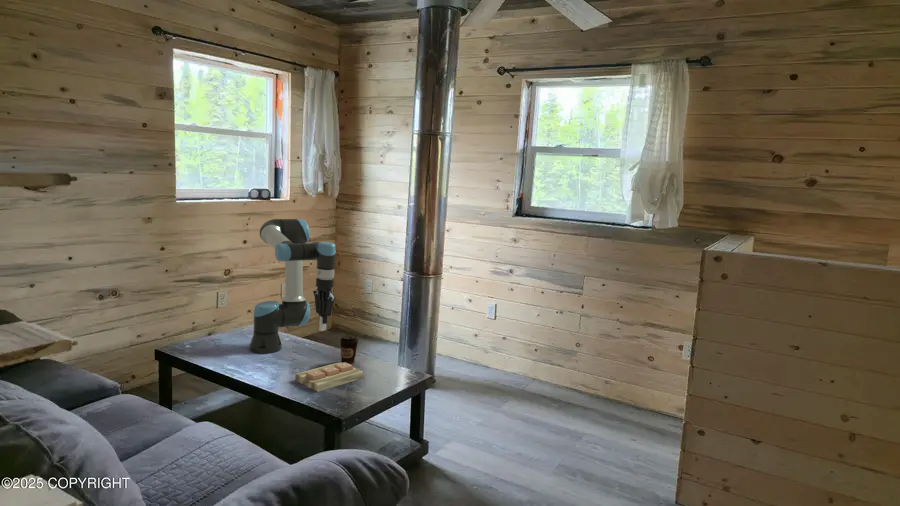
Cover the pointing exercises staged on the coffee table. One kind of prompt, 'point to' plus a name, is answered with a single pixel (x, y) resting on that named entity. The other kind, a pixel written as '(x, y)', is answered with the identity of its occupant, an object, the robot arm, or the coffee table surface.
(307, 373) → the tile one pip
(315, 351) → the coffee table surface
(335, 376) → the board
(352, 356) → the coffee cup
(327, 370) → the tile two pips
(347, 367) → the tile three pips
